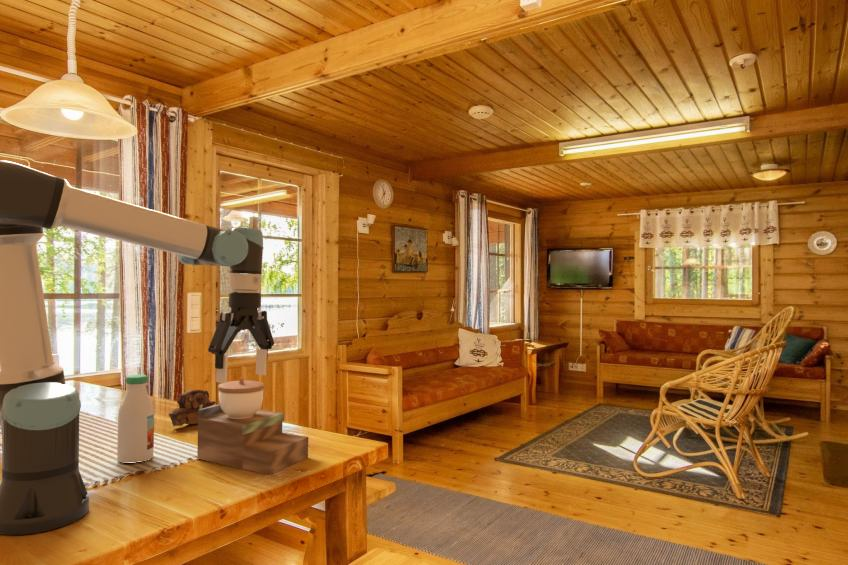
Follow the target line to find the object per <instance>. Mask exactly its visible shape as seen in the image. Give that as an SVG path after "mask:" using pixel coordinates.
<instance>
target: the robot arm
mask: <svg viewBox="0 0 848 565" xmlns="http://www.w3.org/2000/svg"><path fill="white" fill-rule="evenodd" d="M60 227H62V228H67V229H71V230H74V231H78V232H82V233H87V234H90V235H91V234H92V235H94V236H95V235H96V236H100V237H104V238H108V239H112V240H116V241H120V242H124V243H130V244H133V245H137V246H141V247H145V248H149V249H152V250H158V251H161V252H166V253H169V254H175V255H177V258H178V261H179V262H180V263H181V264H182V265H190V266H191V265H192V266H193V267H194V266H208V267H210V266H212V267H215V266H216V267H229V279H228V280H229V282H228V284H229V285H228V289H229V290H230V292H229V293H228V307H230V312H229V311H220V313H219V320H218V323H217V325H216V328H215V331H214V332H213V333H214V334H213V336H212V338H211V341H210V344H209V345H208V348H207V351H208V352H209V353H211V354H212V355H214V356H215V358H214V368H215V370H216V371H215V382H216V383H220V384H222V383H227V382H228V368H229V367H228V366H229V365H228V363H229V355H228V354H226V353H227V352H228V350H229V348H230V347H231V344H232V343H233V341H234V340H235V338H236V336H237V335H238V333H240V332H241V331H246V330H248V331H249V332H250V334H251V336H252V337H253V339H254V341H255V342H256V345H257V346H258V347H259V348H256V361H255V375H257V376H267V362H268V359H269V353H268V351H269V350H272V347H273V346H274V345H275V341H274V338H273V334H272V331H271V327H270V324H269V321H268V311H267V310H259V309H260V308H261V305H262V294H261V292H259V291H261V290H262V274H263V272H262V270H263V269H262V268H263V253H264V235H263V232H262V231H261V229H258V228H253V227H233V228H232V229H221V228H217V227H214V226H211V225H207V224H206V225H205V224H204V223H201V222H196V221H194V220H190V219H186V218H183V217H179V216H175V215H171V214H169V213H165V212H162V211H158V210H154V209H150V208H147V207H143V206H142V205H141V206H140V205H137V204H133V203H130V202H126V201H122V200H120V199H115V198H112V197H108V196H105V195H101V194H98V193H95V192H91V191H87V190H84V189H81V188H78V187H74V186H71V185H70V183H69V182H68V180H67V179H66V178H62V177H59V176H56V175H52V174H50V173H49V174H48V173H46V172H44V171H41V170H37V169H35V168H31V167H29V166H26V165H23V164H20V163H17V162H14V161H10V160H0V429H1V437H2V438H1V440H2V441H1V443H2V444H1V482H0V535H6V536H7V535H8V536H17V535H18V536H20V535H21V536H23V535H30V534H33V535H34V534H37V533H38V534H39V533H44V532H48V531H51V530H56V529H59V528H62V527H65V526H68V525H70V524H73V523H75V522H77V521H78V520H80V519H82V518H83V517H85V516H86V515H87V514H88V512H89V510H90V496H89V494H88V490H87V488H86V485H85V483H84V479H83V477H82V474H81V472H80V469H79V468H80V467H79V466H80V465H79V464H80V461H79V460H80V412H81V408H82V405H81V404H82V403H81V400H80V393H79V391H78V389H77V388H76V387H74V386H72V385H70V384H68V383H67V384H66V379H65V373H64V372H65V371H64V368H63V367H62V366H60V365H58V364H57V363H55V362H54V357H53V352H52V351H53V350H52V344H51V337H50V331H49V323H48V317H47V309H46V304H45V297H44V296H45V295H44V289H43V288H44V287H43V283H42V277H41V276H42V275H41V268H40V263H39V254H38V248H37V243H38V242H39V241H40V240H41V239H42V238H43V237H44V236H45V234H44V233H45V232H44V229H47V230H51V231H52V230H55V229H57V228H60Z"/></svg>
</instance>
